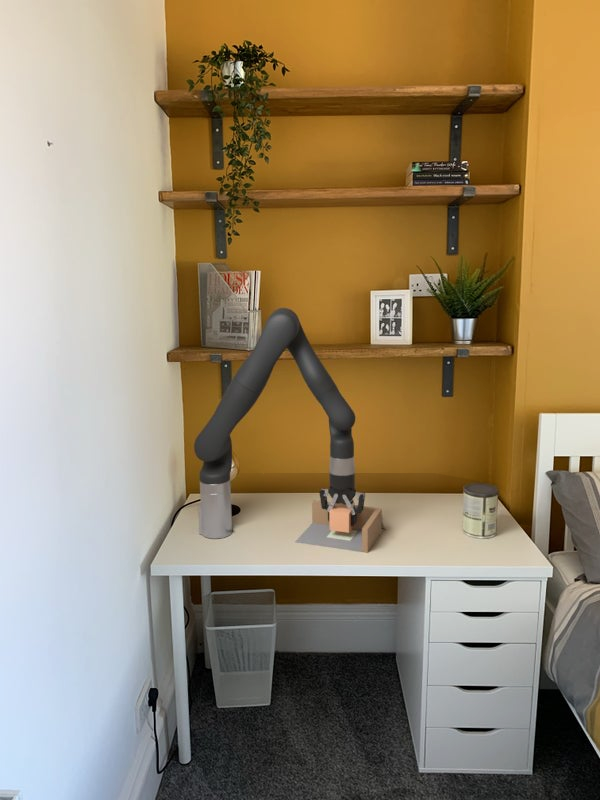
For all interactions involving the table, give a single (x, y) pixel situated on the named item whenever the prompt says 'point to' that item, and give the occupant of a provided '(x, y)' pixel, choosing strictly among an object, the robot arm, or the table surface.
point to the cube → (340, 518)
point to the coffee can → (480, 510)
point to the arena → (354, 540)
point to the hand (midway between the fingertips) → (342, 523)
